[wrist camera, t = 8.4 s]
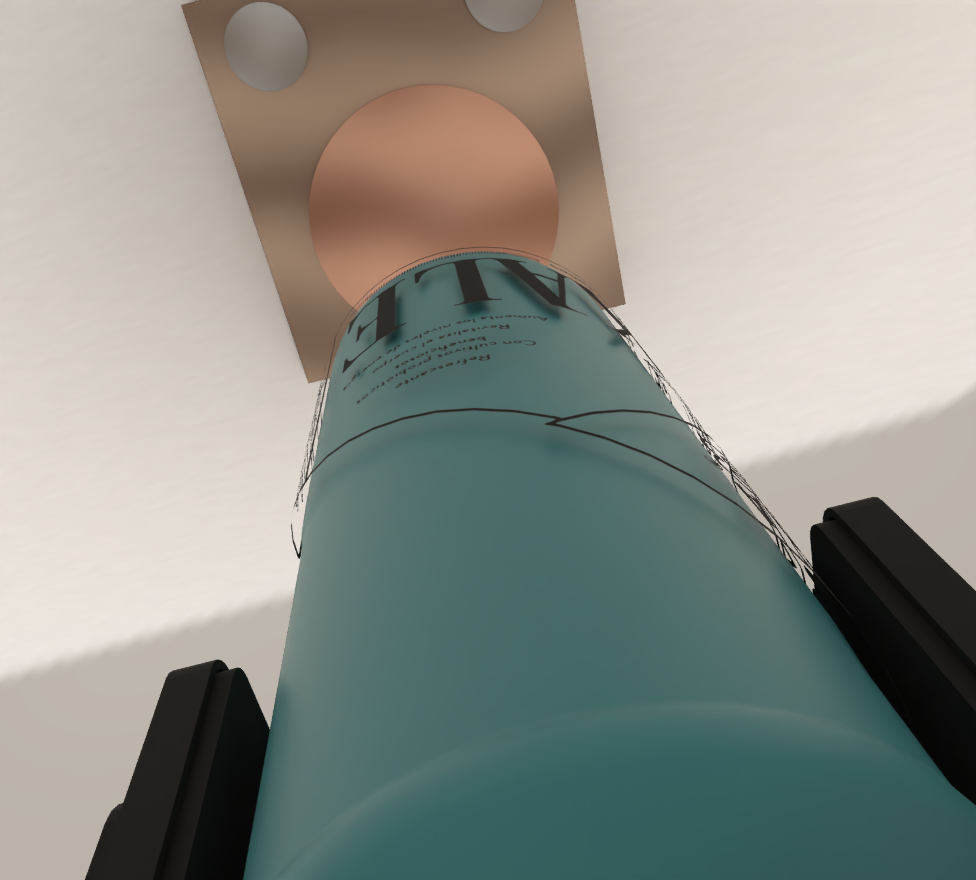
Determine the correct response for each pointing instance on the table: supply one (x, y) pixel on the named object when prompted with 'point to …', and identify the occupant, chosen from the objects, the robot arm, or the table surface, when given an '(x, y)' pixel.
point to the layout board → (405, 143)
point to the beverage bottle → (562, 628)
